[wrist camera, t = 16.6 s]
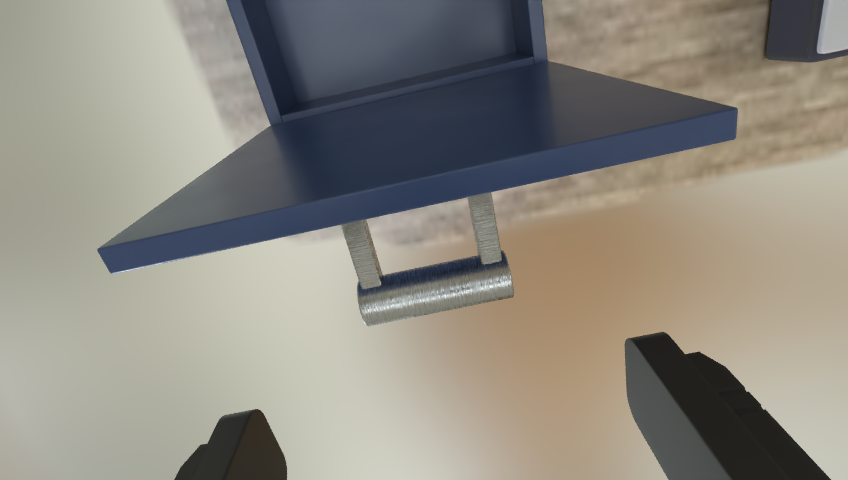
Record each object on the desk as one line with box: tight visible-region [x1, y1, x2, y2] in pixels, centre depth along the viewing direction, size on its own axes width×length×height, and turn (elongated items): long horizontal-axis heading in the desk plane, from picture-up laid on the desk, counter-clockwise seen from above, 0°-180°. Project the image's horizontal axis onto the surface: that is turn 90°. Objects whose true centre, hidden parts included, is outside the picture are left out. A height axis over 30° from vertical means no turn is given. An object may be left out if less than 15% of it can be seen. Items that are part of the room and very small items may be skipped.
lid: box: [98, 61, 738, 326], centre depth 20 cm, size 16×17×5 cm
